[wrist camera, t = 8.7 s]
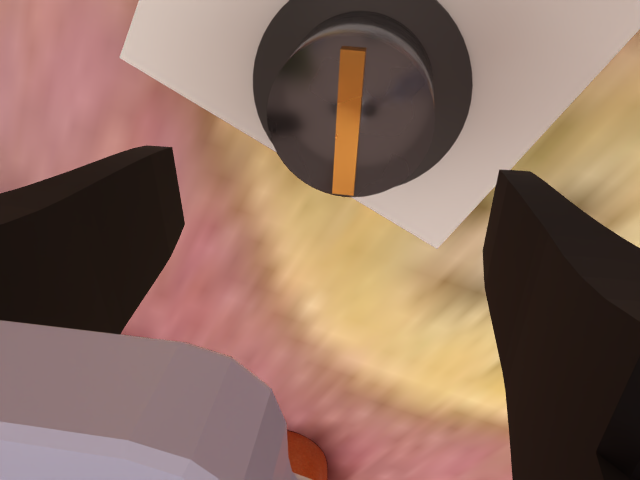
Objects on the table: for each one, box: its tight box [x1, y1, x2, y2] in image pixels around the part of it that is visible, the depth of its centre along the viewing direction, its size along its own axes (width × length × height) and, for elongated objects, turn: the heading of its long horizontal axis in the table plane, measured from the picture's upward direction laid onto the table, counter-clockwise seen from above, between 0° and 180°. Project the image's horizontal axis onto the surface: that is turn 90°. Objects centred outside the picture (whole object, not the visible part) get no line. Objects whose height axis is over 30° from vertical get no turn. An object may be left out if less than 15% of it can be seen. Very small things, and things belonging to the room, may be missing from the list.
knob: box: [267, 11, 435, 197], centre depth 18 cm, size 5×5×4 cm
